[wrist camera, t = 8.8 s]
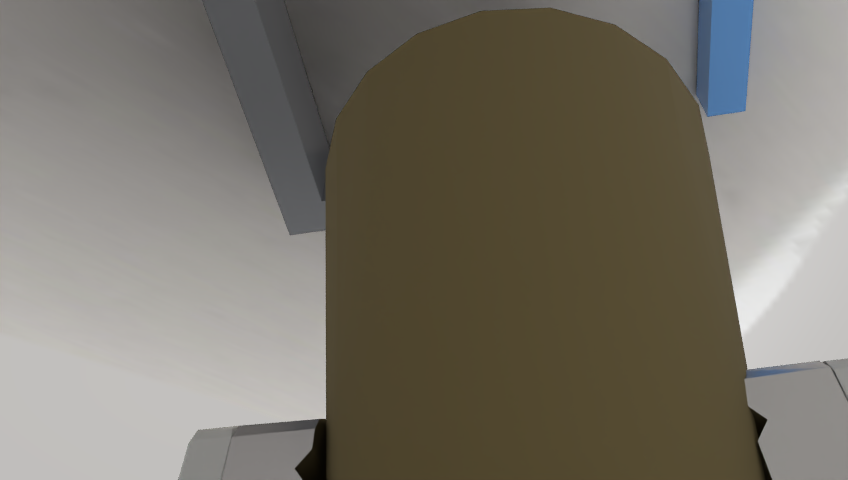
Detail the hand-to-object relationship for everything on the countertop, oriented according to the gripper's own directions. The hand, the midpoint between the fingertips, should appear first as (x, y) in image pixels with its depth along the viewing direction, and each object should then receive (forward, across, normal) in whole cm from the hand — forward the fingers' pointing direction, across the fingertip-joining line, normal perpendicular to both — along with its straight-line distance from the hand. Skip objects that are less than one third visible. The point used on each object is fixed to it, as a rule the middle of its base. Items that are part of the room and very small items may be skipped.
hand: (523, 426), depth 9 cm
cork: (+5, 0, 0) cm, 5 cm away
